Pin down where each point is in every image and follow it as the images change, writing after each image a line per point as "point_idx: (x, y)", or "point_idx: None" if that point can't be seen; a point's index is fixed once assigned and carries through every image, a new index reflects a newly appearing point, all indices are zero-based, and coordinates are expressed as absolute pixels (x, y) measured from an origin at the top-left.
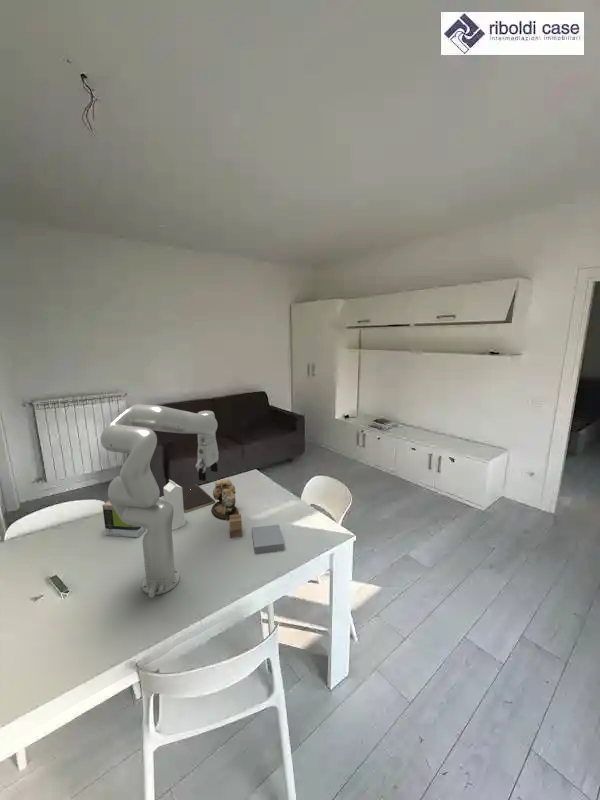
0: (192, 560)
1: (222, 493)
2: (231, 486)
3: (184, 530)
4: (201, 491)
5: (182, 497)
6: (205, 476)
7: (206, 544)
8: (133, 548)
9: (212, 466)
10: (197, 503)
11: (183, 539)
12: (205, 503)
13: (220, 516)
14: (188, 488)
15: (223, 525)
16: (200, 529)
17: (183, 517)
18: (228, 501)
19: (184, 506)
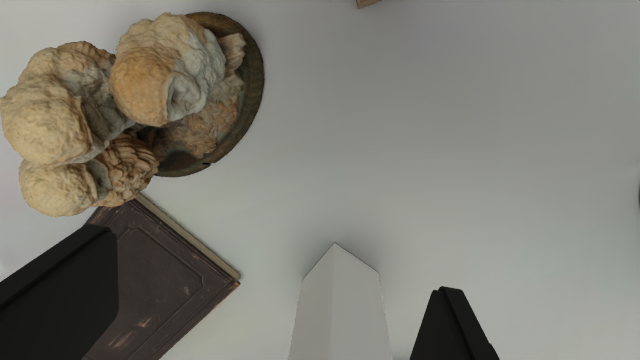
0: (588, 112)
1: (175, 115)
2: (61, 71)
3: (371, 228)
4: None
5: (331, 346)
6: (476, 338)
7: (472, 93)
8: (495, 349)
9: (57, 353)
10: (172, 253)
11: (436, 207)
12: (159, 218)
13: (252, 102)
14: None
15: (310, 64)
16: (357, 164)
17: (335, 265)
18: (211, 56)
19: (212, 296)
